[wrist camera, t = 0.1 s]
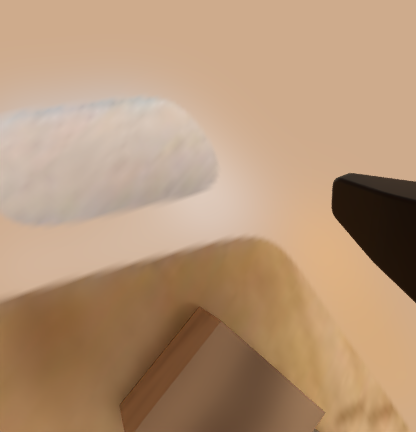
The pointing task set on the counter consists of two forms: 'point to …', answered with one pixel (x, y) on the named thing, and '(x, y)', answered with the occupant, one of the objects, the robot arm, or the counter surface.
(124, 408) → the base block
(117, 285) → the counter surface
